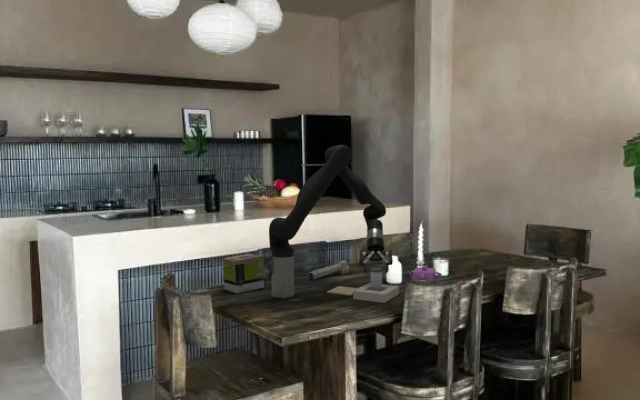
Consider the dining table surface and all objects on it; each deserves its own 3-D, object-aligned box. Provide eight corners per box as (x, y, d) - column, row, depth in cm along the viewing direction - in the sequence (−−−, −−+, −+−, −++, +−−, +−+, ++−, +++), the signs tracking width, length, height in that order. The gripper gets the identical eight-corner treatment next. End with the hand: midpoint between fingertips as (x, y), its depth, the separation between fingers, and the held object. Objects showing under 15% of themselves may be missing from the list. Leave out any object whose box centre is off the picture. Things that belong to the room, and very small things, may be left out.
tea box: (251, 284, 278) (250, 252, 277) (264, 288, 271) (263, 255, 270) (223, 290, 269) (222, 257, 267) (236, 294, 261) (235, 260, 260)
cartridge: (380, 299, 250) (380, 270, 249) (366, 297, 253) (366, 269, 252) (385, 295, 255) (385, 267, 254) (372, 294, 258) (372, 266, 257)
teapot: (412, 283, 277) (412, 261, 276) (443, 285, 273) (443, 263, 272) (407, 293, 260) (407, 269, 259) (440, 294, 256) (440, 271, 255)
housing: (384, 303, 244) (384, 294, 243) (353, 299, 251) (353, 290, 250) (399, 294, 258) (399, 286, 257) (369, 290, 264) (368, 282, 264)
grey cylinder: (306, 271, 288) (343, 257, 304) (308, 284, 289) (344, 269, 305) (313, 273, 284) (350, 258, 300) (315, 286, 285) (352, 271, 302)
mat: (350, 295, 256) (350, 294, 256) (327, 292, 261) (327, 291, 261) (361, 290, 266) (361, 288, 266) (338, 287, 271) (338, 286, 271)
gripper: (359, 236, 264) (359, 267, 254) (391, 236, 263) (393, 267, 253) (359, 246, 270) (359, 277, 260) (391, 246, 269) (392, 277, 259)
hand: (376, 272), depth 257 cm, fingers open, 8 cm apart
